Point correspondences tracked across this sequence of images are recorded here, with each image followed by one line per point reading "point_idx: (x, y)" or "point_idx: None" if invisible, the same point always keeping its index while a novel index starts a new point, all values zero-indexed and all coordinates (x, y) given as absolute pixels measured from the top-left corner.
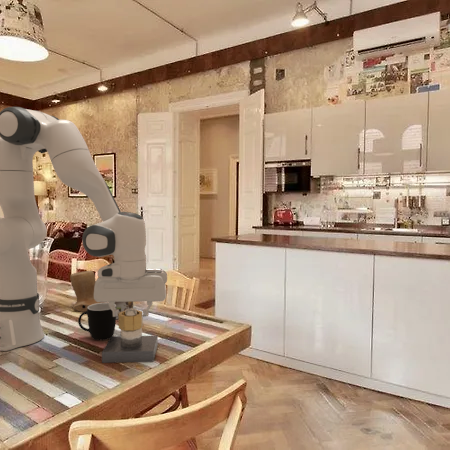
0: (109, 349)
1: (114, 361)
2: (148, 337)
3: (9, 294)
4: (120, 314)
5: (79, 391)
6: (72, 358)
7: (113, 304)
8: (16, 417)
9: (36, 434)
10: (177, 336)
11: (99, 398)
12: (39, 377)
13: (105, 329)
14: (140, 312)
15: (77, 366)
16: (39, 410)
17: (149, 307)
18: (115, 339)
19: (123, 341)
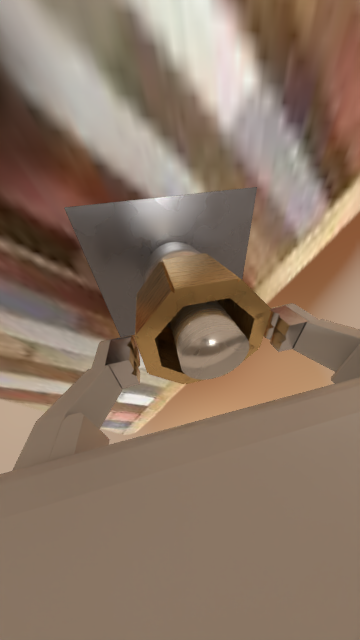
0: (131, 322)
1: None
2: (223, 214)
3: None
4: (157, 370)
5: (139, 388)
6: (29, 312)
7: (108, 444)
8: (106, 423)
9: (141, 426)
10: (330, 46)
11: (170, 391)
12: (45, 380)
13: None
14: (258, 325)
15: (80, 341)
16: (119, 414)
17: (327, 360)
18: (106, 246)
19: None
